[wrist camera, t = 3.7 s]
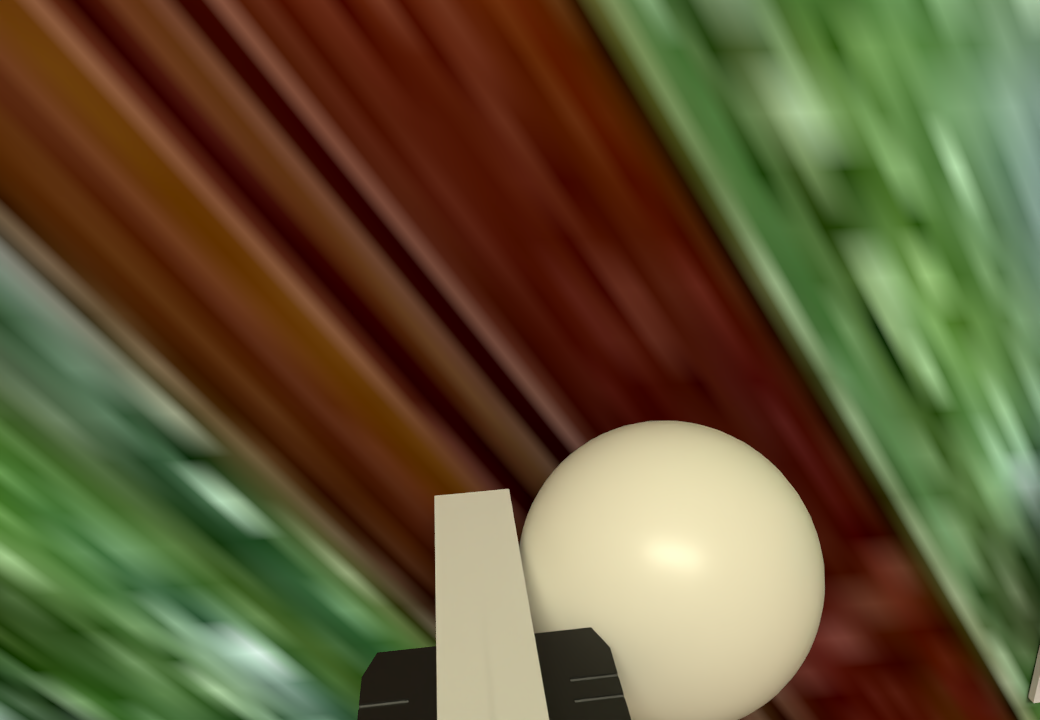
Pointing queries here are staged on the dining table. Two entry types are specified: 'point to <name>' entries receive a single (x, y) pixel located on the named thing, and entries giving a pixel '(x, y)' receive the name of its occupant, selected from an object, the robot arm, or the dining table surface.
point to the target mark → (1035, 682)
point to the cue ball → (678, 567)
